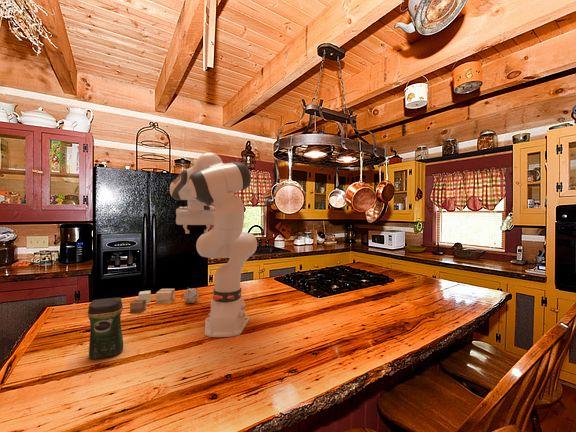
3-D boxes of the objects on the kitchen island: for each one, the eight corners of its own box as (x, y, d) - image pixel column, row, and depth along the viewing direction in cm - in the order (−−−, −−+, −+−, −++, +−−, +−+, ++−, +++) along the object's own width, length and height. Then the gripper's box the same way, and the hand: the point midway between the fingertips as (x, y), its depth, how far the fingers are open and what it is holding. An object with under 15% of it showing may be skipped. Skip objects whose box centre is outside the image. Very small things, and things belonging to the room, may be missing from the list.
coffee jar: (125, 345, 96) (125, 294, 96) (120, 356, 89) (119, 301, 88) (93, 350, 93) (92, 296, 93) (84, 362, 86) (84, 304, 85)
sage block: (149, 302, 140) (149, 293, 140) (138, 303, 139) (138, 294, 139) (150, 299, 145) (150, 290, 145) (140, 300, 143) (140, 291, 143)
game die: (194, 309, 142) (206, 292, 144) (187, 309, 134) (200, 291, 136) (182, 299, 144) (194, 283, 146) (174, 298, 136) (187, 281, 138)
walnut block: (141, 313, 126) (141, 302, 126) (130, 313, 126) (130, 303, 125) (146, 309, 131) (145, 299, 131) (135, 309, 131) (135, 299, 130)
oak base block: (170, 304, 139) (170, 292, 139) (156, 304, 138) (156, 292, 138) (174, 299, 146) (174, 288, 145) (161, 299, 145) (161, 288, 145)
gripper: (173, 206, 135) (173, 234, 135) (215, 207, 136) (215, 234, 136) (178, 206, 141) (178, 233, 142) (217, 207, 142) (217, 233, 143)
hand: (196, 233), depth 139 cm, fingers open, 8 cm apart
